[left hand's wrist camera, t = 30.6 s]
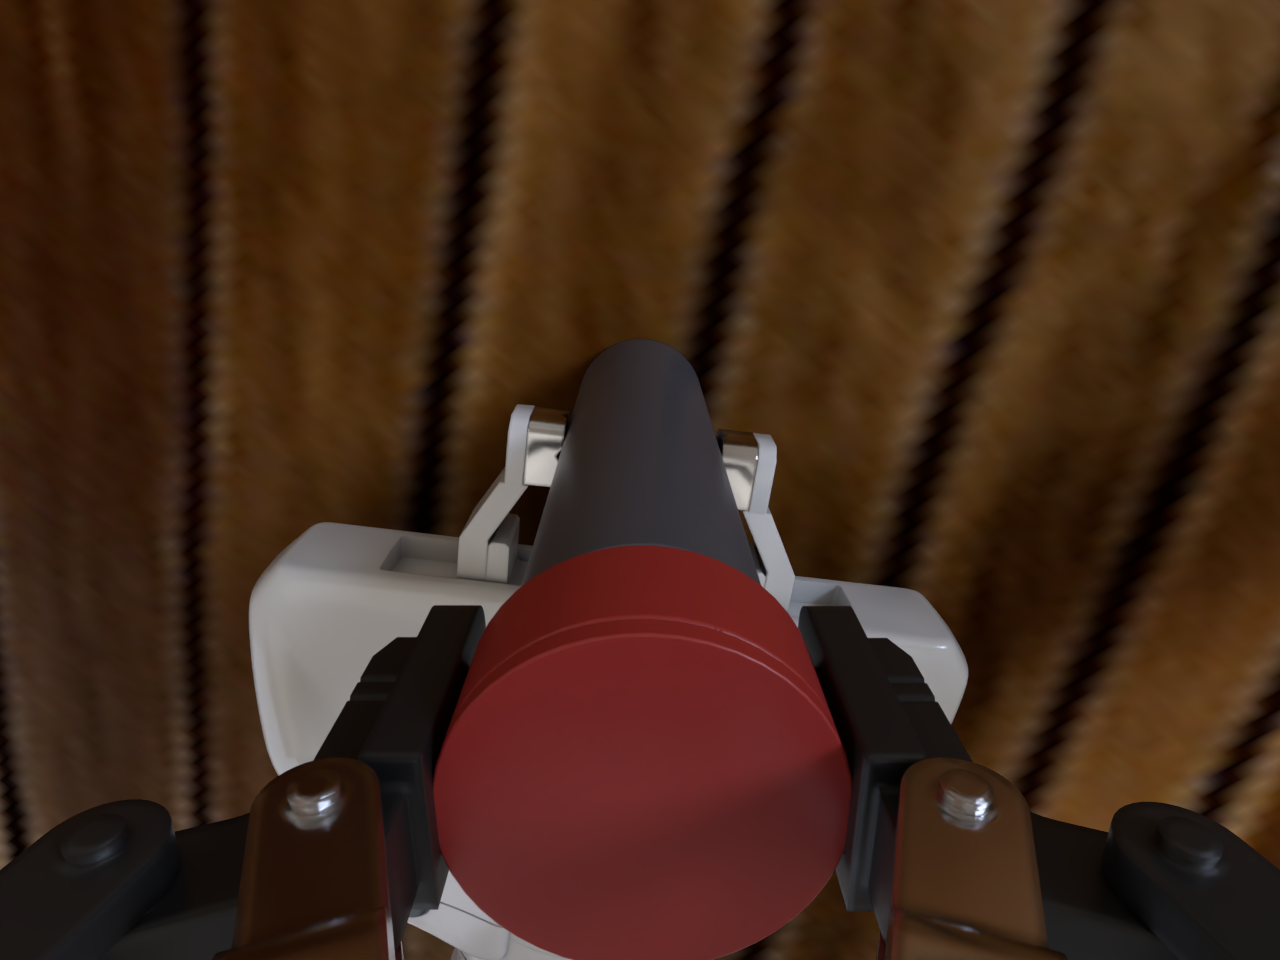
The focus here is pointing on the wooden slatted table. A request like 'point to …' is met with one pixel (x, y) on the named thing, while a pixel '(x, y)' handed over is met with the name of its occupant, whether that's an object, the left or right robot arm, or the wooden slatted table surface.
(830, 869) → the lid
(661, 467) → the dark gray cylinder
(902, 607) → the right robot arm
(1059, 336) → the wooden slatted table surface
